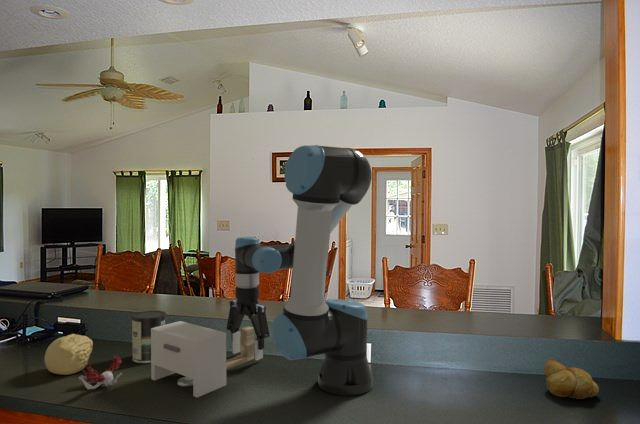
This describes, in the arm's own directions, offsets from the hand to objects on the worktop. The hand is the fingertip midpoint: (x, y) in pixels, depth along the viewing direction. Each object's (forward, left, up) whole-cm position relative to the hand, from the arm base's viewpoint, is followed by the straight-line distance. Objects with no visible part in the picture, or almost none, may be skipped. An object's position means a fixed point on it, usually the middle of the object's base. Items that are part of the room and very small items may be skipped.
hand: (247, 355), depth 149 cm
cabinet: (0, +23, -1) cm, 23 cm away
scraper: (0, +8, -1) cm, 8 cm away
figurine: (+17, +39, -1) cm, 43 cm away
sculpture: (+35, +39, -1) cm, 52 cm away
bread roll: (-87, -32, -1) cm, 93 cm away
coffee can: (+26, +18, -1) cm, 32 cm away
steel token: (0, +24, -1) cm, 24 cm away
